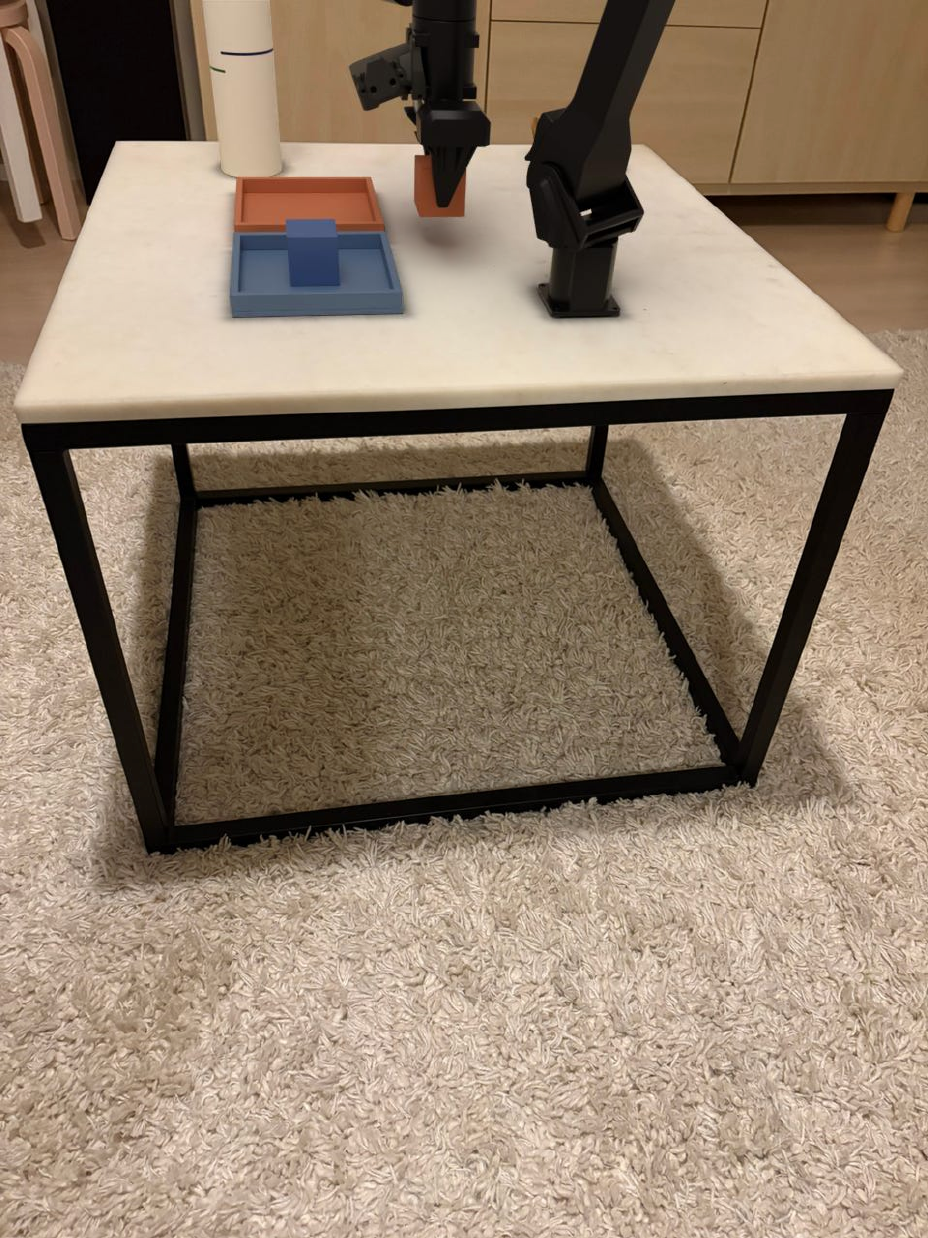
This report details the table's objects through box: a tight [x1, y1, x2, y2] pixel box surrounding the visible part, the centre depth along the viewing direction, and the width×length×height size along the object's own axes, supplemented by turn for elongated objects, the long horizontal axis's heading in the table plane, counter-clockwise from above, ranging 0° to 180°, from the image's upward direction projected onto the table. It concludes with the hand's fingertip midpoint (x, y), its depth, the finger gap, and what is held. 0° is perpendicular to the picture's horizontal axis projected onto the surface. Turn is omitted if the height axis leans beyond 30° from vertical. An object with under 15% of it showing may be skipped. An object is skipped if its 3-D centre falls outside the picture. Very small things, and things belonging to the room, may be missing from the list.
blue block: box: [286, 219, 340, 286], centre depth 86 cm, size 4×4×4 cm
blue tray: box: [229, 230, 404, 318], centre depth 88 cm, size 15×15×2 cm
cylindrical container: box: [201, 0, 283, 178], centre depth 104 cm, size 7×7×25 cm
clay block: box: [413, 154, 467, 218], centre depth 93 cm, size 4×4×4 cm
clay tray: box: [233, 176, 385, 233], centre depth 100 cm, size 15×15×2 cm
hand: (439, 198), depth 94 cm, fingers closed on clay block, 4 cm apart
